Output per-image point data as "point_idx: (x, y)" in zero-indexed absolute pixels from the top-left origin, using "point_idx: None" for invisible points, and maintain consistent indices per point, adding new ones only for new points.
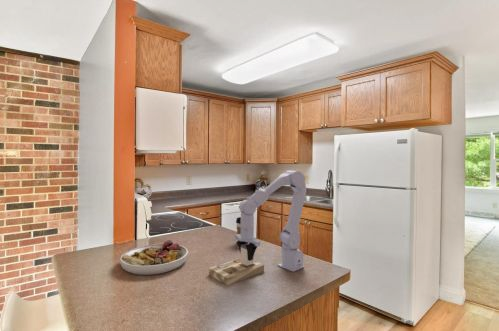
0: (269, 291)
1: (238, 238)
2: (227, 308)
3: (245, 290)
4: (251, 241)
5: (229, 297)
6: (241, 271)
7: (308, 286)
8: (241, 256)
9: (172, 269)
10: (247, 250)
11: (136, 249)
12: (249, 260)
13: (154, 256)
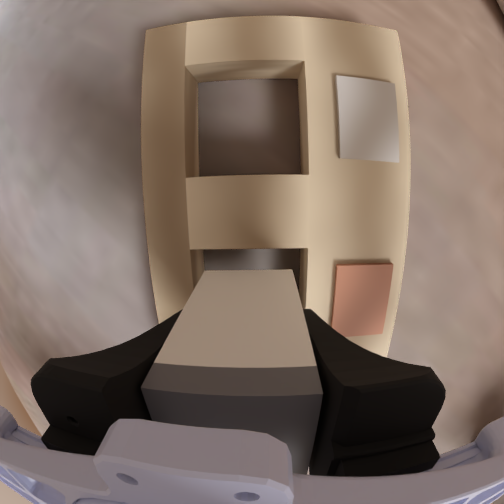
0: (10, 209)
1: (461, 458)
2: (38, 3)
3: (63, 112)
4: (5, 454)
5: (73, 22)
6: (163, 174)
7: (6, 350)
8: (286, 298)
9: (497, 1)
10: (140, 353)
11: None
12: (181, 311)
13: None
